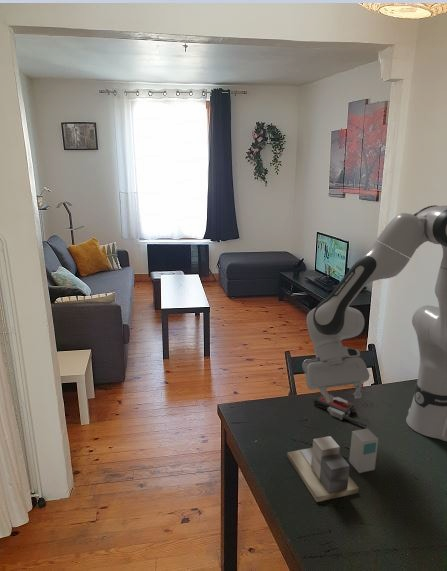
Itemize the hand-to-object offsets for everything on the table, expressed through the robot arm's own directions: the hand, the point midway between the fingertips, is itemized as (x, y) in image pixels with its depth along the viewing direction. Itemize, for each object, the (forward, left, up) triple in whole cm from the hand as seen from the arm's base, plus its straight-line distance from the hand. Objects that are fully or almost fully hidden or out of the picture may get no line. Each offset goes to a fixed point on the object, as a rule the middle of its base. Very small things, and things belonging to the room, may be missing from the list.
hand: (344, 400), depth 126 cm
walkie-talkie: (-9, -14, -15) cm, 23 cm away
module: (0, +11, -14) cm, 18 cm away
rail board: (+13, +11, -14) cm, 22 cm away
